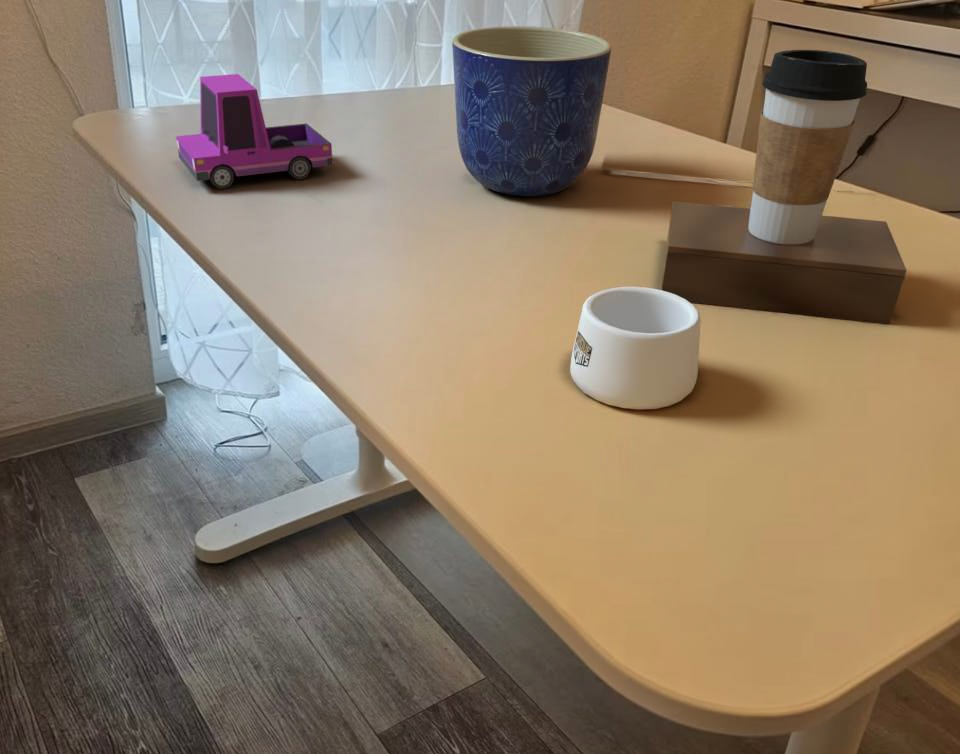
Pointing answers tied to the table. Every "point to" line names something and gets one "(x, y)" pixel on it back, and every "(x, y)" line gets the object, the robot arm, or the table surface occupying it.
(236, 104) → the toy truck
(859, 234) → the dark wooden box
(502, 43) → the planter
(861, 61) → the coffee cup
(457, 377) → the table surface
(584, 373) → the mug
